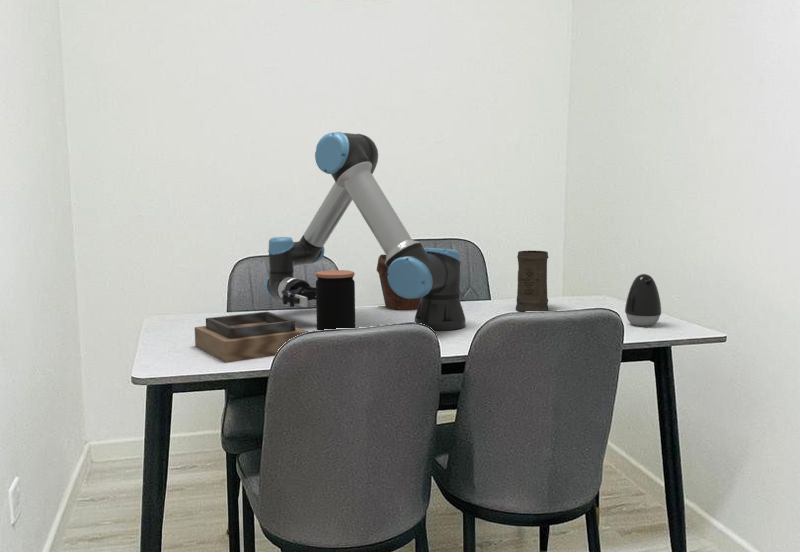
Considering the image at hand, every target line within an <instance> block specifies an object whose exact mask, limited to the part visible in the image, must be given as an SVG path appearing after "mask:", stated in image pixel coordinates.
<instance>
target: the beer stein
mask: <svg viewBox="0 0 800 552" xmlns="http://www.w3.org/2000/svg"><path fill="white" fill-rule="evenodd" d="M516 258H517V264H518V265H517V266H518V270H517V290H516V291H517V293H516V300H515V301H516V304H515V305H516V306H515V311H517V312H521V313H525V311H547V312H548V311H549V305H548V303H549V298H548V259H549V252H548V251H545V250H520V251H518V252H517V256H516Z"/></svg>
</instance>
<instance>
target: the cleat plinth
mask: <svg viewBox="0 0 800 552" xmlns="http://www.w3.org/2000/svg"><path fill="white" fill-rule="evenodd" d="M305 332H308V333H309V331H308V330H305V329H302V328H300V327H297V326H296V320H293V319H290V318H287V317H285V316H282V315H279V314H275V313H273V312H270V311H261V312H253V313H251V312H250V313H242V314H240V313H239V314H233V315H225V316H224V315H223V316H214V317H207V318H205V325H203V326H195V327H194V346H195V347H196V348H199V349H200V350H202V351H203V352H206V353H208V354H210V355H211V356H213V357H215V358H217V359H218V360H221V361H223V362H224V363H230V362H231V363H233V362H238V361H245V360H251V359H258V358H264V357H271V356H273V357H274V356H276V355H275V354H276V353H277V351H278V349H279V348H280V347H281V346H282V345H283V344H284V343H285V342H287V341H288V340H289V339H291V338H293V337H295V336H297V335H300V334H302V333H305Z"/></svg>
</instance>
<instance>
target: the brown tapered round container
mask: <svg viewBox="0 0 800 552" xmlns="http://www.w3.org/2000/svg"><path fill="white" fill-rule="evenodd" d="M386 258H387V256H386V254H380V255H379V256H378V260H377V265H376V272H377V273H378V277H379V280H380V287H381V291H382V296H383V301H384V306H385V307H386V308H387V309H390V310H397V311H398V310H399V311H407V310H409V311H410V310H417V309H418V306H419V303H420V298H412V299H408V298H403V297H401V296H399V295H397V294H396V293H395V292H394V291H393V290H392V289H391V287H390V285H389V283H388V279H387V276H388V273H387V272H388V268H387V266H386V264H385V262H386Z"/></svg>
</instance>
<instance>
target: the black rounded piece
mask: <svg viewBox="0 0 800 552" xmlns="http://www.w3.org/2000/svg"><path fill="white" fill-rule="evenodd" d="M624 308H625V309H624V313H625V315H626V318H627V319H626V320H627V321H628V322H629V323H630V324H632V325H633V326H636V327H644V328H645V327H652V326H654V325H656V324H657V322H659V320H660V316H661V315H662V303H661V297H660V293H659V290H658V286H657V284H656V282H655V280H654V278H653V276H651V275H650V274H647V273H642V274H641V273H640V274H639V275H637V276H636V277H635V278H634V279H633V281H632V283H631V286H630V288H629V290H628V293H627V297H626V303H625V307H624Z"/></svg>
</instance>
